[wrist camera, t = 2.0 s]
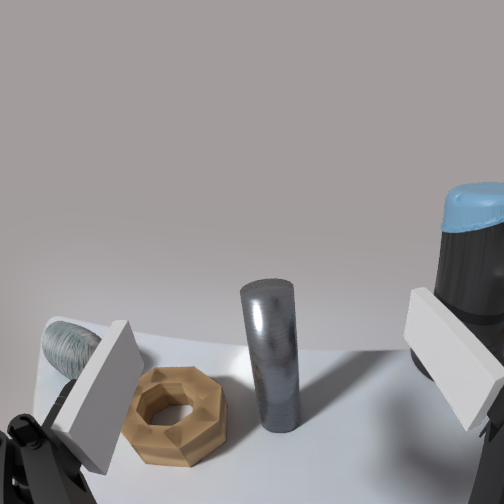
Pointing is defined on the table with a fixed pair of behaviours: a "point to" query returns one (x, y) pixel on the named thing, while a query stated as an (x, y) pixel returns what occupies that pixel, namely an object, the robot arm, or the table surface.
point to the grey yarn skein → (69, 347)
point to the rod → (273, 351)
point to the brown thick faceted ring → (186, 430)
